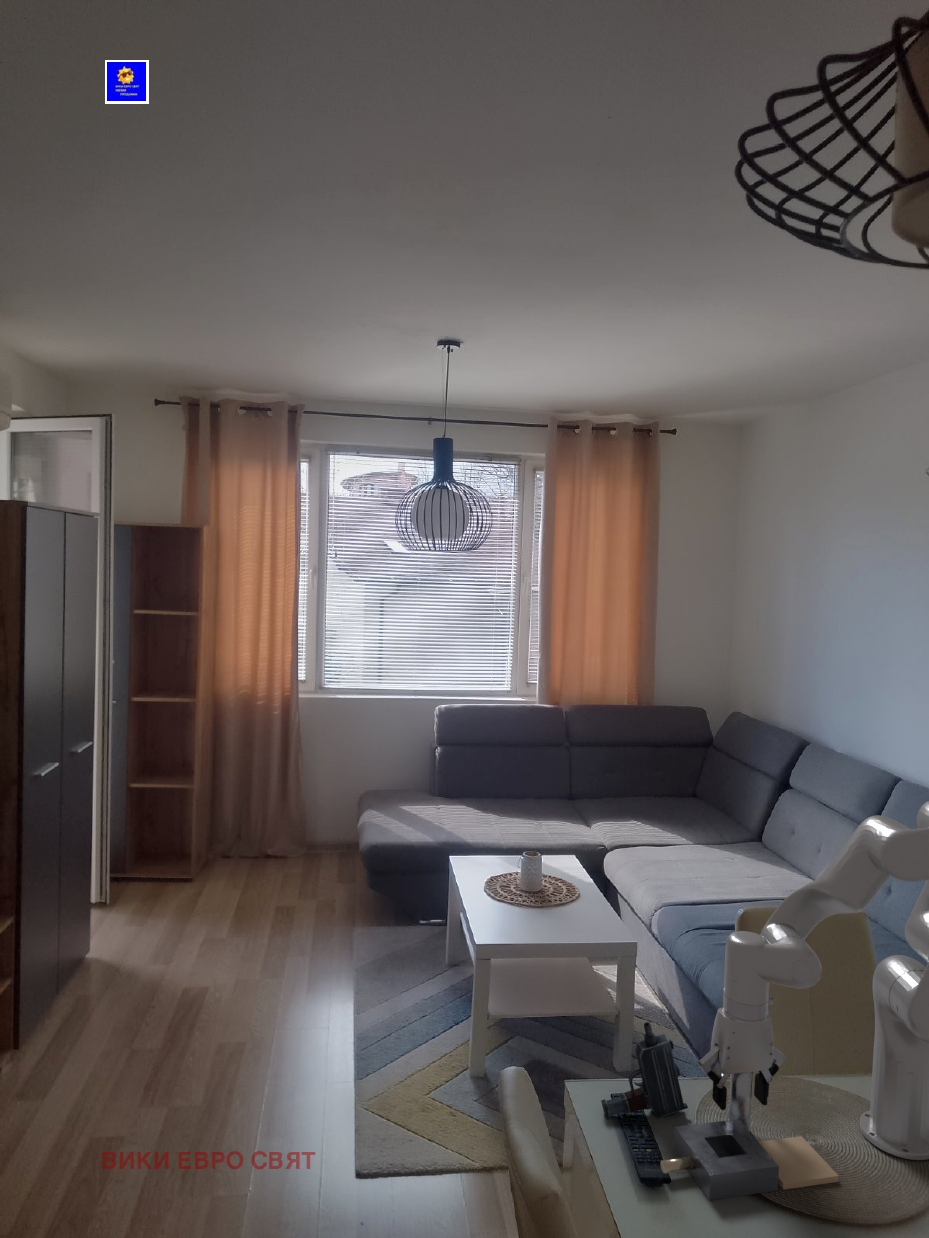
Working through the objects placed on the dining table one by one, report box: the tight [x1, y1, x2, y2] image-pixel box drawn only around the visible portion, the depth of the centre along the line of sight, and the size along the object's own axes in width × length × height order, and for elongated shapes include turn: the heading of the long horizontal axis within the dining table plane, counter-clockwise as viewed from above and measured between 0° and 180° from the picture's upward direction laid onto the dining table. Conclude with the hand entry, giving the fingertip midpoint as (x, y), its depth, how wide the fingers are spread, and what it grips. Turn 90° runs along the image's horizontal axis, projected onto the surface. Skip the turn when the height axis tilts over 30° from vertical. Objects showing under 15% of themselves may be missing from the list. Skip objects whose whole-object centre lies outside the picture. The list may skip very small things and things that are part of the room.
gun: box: [600, 1021, 689, 1119], centre depth 154 cm, size 3×17×15 cm
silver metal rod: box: [728, 1072, 754, 1132], centre depth 151 cm, size 4×4×13 cm
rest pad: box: [758, 1135, 840, 1190], centre depth 143 cm, size 10×10×1 cm
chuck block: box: [659, 1119, 779, 1201], centre depth 140 cm, size 17×12×4 cm
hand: (740, 1102), depth 151 cm, fingers open, 7 cm apart
